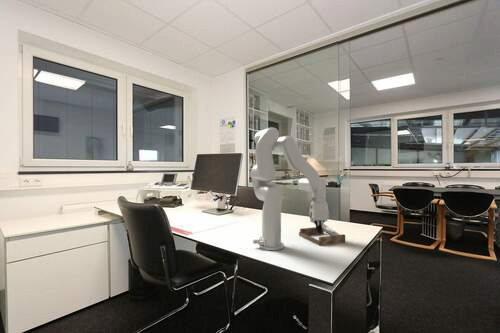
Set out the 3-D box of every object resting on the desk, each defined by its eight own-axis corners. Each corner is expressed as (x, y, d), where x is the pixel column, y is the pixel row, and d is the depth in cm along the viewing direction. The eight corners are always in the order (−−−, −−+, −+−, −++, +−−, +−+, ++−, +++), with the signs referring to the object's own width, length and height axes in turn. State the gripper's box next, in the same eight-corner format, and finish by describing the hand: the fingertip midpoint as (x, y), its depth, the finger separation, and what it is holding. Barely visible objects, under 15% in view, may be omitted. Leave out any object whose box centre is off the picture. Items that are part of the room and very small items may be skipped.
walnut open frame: (319, 245, 118) (319, 237, 118) (298, 235, 136) (298, 228, 136) (345, 242, 123) (345, 234, 123) (322, 233, 142) (322, 226, 142)
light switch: (340, 238, 124) (317, 222, 131) (335, 247, 125) (312, 231, 133) (343, 235, 131) (321, 220, 138) (338, 243, 133) (316, 228, 140)
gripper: (311, 201, 123) (311, 235, 123) (334, 199, 128) (334, 232, 128) (303, 199, 130) (303, 231, 130) (325, 198, 135) (325, 229, 135)
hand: (318, 232), depth 129 cm, fingers closed
